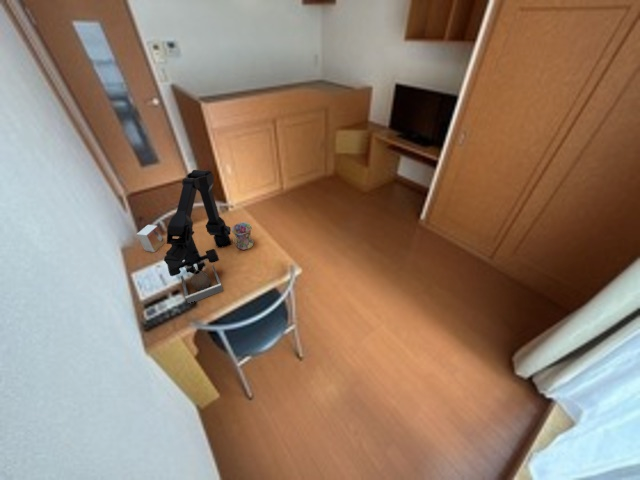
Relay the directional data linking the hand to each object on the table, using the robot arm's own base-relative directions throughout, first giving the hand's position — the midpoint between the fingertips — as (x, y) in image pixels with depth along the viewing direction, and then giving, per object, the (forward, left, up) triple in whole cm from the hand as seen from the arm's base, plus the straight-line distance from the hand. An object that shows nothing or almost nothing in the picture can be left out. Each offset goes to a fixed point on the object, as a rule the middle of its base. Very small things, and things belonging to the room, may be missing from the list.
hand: (199, 275), depth 114 cm
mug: (-23, -12, -2) cm, 26 cm away
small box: (+15, -34, -2) cm, 37 cm away
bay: (0, +4, -2) cm, 5 cm away
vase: (0, +5, -2) cm, 5 cm away
